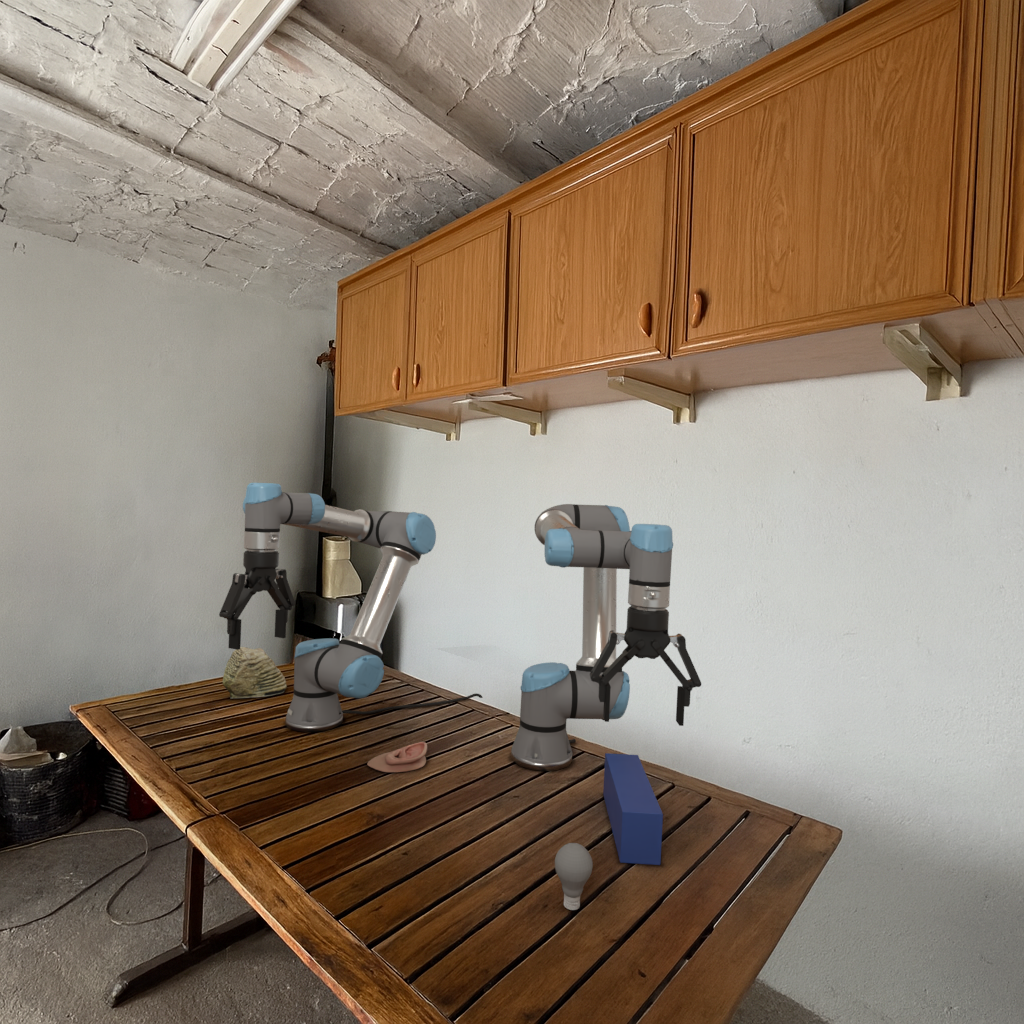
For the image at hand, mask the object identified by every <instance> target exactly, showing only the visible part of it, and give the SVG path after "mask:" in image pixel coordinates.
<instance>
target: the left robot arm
mask: <svg viewBox="0 0 1024 1024" xmlns="http://www.w3.org/2000/svg"><path fill="white" fill-rule="evenodd" d="M242 511H243V513H244V535H243V536H244V538H243V548H244V549H245V551H244V552H243V563H242V564H243V567H244V569H245V571H244V573H237V572H234V573H233V575H232V579H231V580H232V581H231V584H230V587H229V589H228V592H227V594H226V597H225V599H224V602H223V604H222V607H221V608H220V611H219V612H218V613H219V614H218V615H219V617H220V618H223V619H225V620H226V621H227V622H226V633H227V635H228V649H231V650H239V649H240V647H241V641H242V619H239V618H240V617H241V615H242V613H243V611H244V610H245V609H246V606H247V605H248V603H249V602H250V601H251V599H252V598H253V596H254V595H256V594H257V593H260V592H263V591H265V592H267V594H269V596H270V597H271V599H272V600H273V602H274V603H275V606H277V608H278V609H275V614H274V615H275V617H274V638H279V639H286V638H287V637H286V635H287V624H288V618H289V611H291V610H292V609H293V607H295V606H296V602H295V598H294V595H293V592H292V589H291V587H290V583H289V581H288V576H287V575H288V574H287V570H286V568H285V569H284V568H279V564H280V563H279V562H280V552H279V551H277V550H278V549H279V548H280V532H281V525H284V526H289V527H290V526H291V527H294V528H301V529H305V530H310V531H316V532H321V533H327V534H333V535H337V536H343V537H348V539H349V540H350V541H352V542H355V543H360V544H363V545H368V546H370V547H374V548H377V549H379V550H380V552H381V554H382V557H381V560H380V562H379V565H378V567H377V569H376V572H375V574H374V576H373V579H372V581H371V584H370V586H369V588H368V591H367V592H366V595H365V597H364V600H363V603H362V605H361V607H360V610H359V612H358V614H357V617H356V619H355V621H354V624H353V626H352V628H351V630H350V634H348V635H347V636H344V637H342V638H341V640H340V641H339V639H338V638H335V637H334V638H331V637H329V638H315V639H308V640H304V641H301V642H299V643H298V644H297V645H296V646H295V652H294V656H293V658H294V670H293V671H294V672H293V695H292V696H293V697H292V699H291V702H290V704H289V708H288V709H287V713H286V715H285V726H286V728H287V729H289V730H291V731H294V732H295V731H296V732H301V733H316V732H325V731H329V730H332V729H335V728H337V727H339V726H340V725H342V723H343V722H344V714H351V715H352V714H353V715H372V714H373V715H374V714H376V713H381V712H385V711H391V710H398V709H399V710H400V709H411V708H420V707H429V706H430V707H431V706H437V705H444V704H450V703H455V702H461V701H465V700H470V699H472V698H474V697H478V698H480V699H483V695H482V694H480V693H472V694H470V695H467V696H462V697H457V698H452V699H447V700H441V701H433V702H425V703H423V702H422V703H414V704H403V705H393V706H387V707H382V708H378V709H374V710H366V711H365V710H363V711H361V710H349V709H348V710H347V709H346V710H345V709H342V706H341V702H340V699H339V695H340V696H343V697H346V698H349V699H350V698H352V699H365V698H367V697H368V696H369V695H372V694H373V693H374V692H375V691H377V690H378V688H379V686H380V685H381V683H382V681H383V679H384V674H385V669H384V667H385V665H384V662H383V660H382V656H383V650H382V648H381V643H382V641H383V638H384V636H385V633H386V631H387V628H388V625H389V623H390V621H391V619H392V616H393V614H394V611H395V608H396V605H397V603H398V600H399V598H400V596H401V593H402V591H403V588H404V586H405V583H406V581H407V579H408V576H409V573H410V570H411V569H412V567H414V566H417V565H418V564H419V562H420V560H421V557H422V555H427V554H429V553H430V552H432V551H433V549H434V547H435V544H436V541H437V540H436V539H437V532H436V531H437V530H436V527H435V524H434V522H433V520H432V519H431V517H430V516H428V515H427V514H425V513H419V512H416V511H412V512H411V511H410V512H408V511H407V512H406V511H392V510H365V509H360V508H359V509H355V510H349V509H346V508H341V507H337V506H332V505H328V504H326V503H325V501H324V499H323V497H322V496H321V495H320V494H318V493H311V492H287V491H285V492H284V491H283V490H282V485H281V484H280V483H270V482H250V483H248V484H247V486H246V489H245V497H244V499H243V501H242ZM338 694H339V695H338Z"/></svg>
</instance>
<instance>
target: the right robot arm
mask: <svg viewBox="0 0 1024 1024" xmlns="http://www.w3.org/2000/svg"><path fill="white" fill-rule="evenodd" d="M534 534H535V536H536V538H537V540H538V541H539V543H540V544H541V545H543V546H544V562H545V563H546V564H547V565H548V566H551V567H559V568H583V573H582V574H583V577H582V578H583V581H582V582H583V584H582V639H581V640H582V644H581V649H582V650H581V657H580V659H578V660H577V661H576V662H575V670H570V668H569V666H568V664H566V663H563V662H551V661H549V662H541V663H536V664H532V665H531V666H529V667H527V668H525V669H524V671H523V673H522V675H521V676H522V677H521V685H520V690H521V695H520V712H519V727H518V730H517V733H516V735H515V738H514V741H513V744H512V746H511V751H510V759H511V761H512V762H513V763H515V764H516V765H518V766H520V767H522V768H525V769H528V770H532V771H540V772H553V771H558V770H559V771H560V770H562V769H565V768H567V767H569V766H570V765H571V764H572V763H573V762H572V761H573V751H572V746H571V744H575V743H576V741H577V740H576V738H572V739H569V736H568V732H567V720H602V721H604V722H605V723H607V722H608V723H610V720H618V719H621V718H622V717H623V716H624V715H625V713H626V711H627V708H628V705H629V701H630V693H631V692H630V691H631V683H630V676H629V673H628V672H626V671H624V670H623V668H624V666H625V665H626V664H628V662H630V661H631V660H632V659H633V658H634V657H636V658H638V659H647V658H648V659H650V660H655V659H657V658H659V657H660V658H661V659H662V661H663V662H664V664H665V665H666V666H667V667H668V668H669V669H670V671H671V672H672V674H673V675H674V676H675V677H676V679H677V680H678V682H679V683H680V684H681V685H677V690H676V692H677V693H676V713H675V721H676V723H677V725H678V726H679V727H684V723H685V722H684V721H685V707H688V708H689V707H690V704H691V692H692V691H693V689H694V688H700V687H701V686H702V681H701V678H700V677H699V674H698V672H697V670H696V668H695V665H694V663H693V661H692V659H691V656H690V654H689V652H688V649H687V644H686V643H687V642H686V637H685V636H684V635H683V634H681V633H677V634H676V635H669V620H670V619H669V618H670V611H669V610H668V609H667V608H669V607H670V600H671V599H670V598H671V597H670V596H671V594H670V593H671V578H672V577H671V576H672V558H673V548H674V543H673V541H674V540H673V529H672V527H671V526H670V525H667V524H657V523H634V524H633V525H632V526H631V528H630V523H629V518H628V515H627V514H626V510H624V509H623V508H622V507H621V506H620V507H619V506H614V505H607V504H605V505H602V504H574V503H565V504H558V505H554V506H551V507H548V508H546V509H545V510H543V511H542V512H541V513H540V514H539V515H538V516H537V518H536V520H535V522H534ZM618 570H629V575H628V592H627V593H628V594H627V603H628V605H629V606H628V608H627V612H626V630H625V632H624V633H623V632H617V609H618V608H617V603H618V602H617V600H618V599H617V597H618V596H617V591H618V590H617V589H618V588H617V587H618V585H617V582H618V576H617V574H618ZM621 641H624V642H625V644H626V645H627V646H626V647H625V648H624V649H623V651H622V652H621V653H620V655H619V656H618V657H617V645H620V644H621ZM671 643H672V646H674V648H676V649H677V652H678V653H679V656H680V658H681V660H682V663H683V665H684V667H685V669H686V671H687V674H688V676H689V678H690V679H689V678H688V679H687V678H686V677H685V675H684V674H683V673H682V672H681V670H680V669H679V668H678V666H677V665H676V664H675V663H674V661H673V660H672V658H671V657H670V656H669V654H668V653H667V652H666V651H665V650H666V649H667V647H668V646H669V644H671Z"/></svg>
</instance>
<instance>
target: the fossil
mask: <svg viewBox="0 0 1024 1024" xmlns="http://www.w3.org/2000/svg"><path fill="white" fill-rule="evenodd" d="M222 676H223V677H222V685H223V687H224V688H225V690H226V691H228V693H229V698H230V699H250V698H264V697H271V696H275V695H281V694H284V693H285V691H286V689H287V687H288V686H287V680H286V678H285V676H284V674H283V673H282V672H281V669H279V668H278V667H277V665H276V663H275V662H274V660H273V659H272V658H271V657H270V656H269V655H268V654H267V653H266V652H265V650H264V649H263V648H260V647H258V648H251V647H247V646H246V647H245V646H240V649H239V650H236V649H234V650H233V651H232V653H231V656H230V657H229V659H228V660H227V663H226V666H225V668H224V671H223V675H222Z"/></svg>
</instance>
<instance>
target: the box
mask: <svg viewBox="0 0 1024 1024" xmlns="http://www.w3.org/2000/svg"><path fill="white" fill-rule="evenodd" d="M603 769H604V771H603V773H604V774H603V791H602V792H603V793H602V795H603V800H604V803H605V807H606V812H607V815H608V819H609V823H610V828H611V831H612V835H613V839H614V844H615V848H616V852H617V855H618V859H619V863H620V864H621V863H622V864H635V865H636V864H639V865H652V866H653V865H654V866H661V863H662V843H663V842H662V841H663V822H664V821H663V820H664V814H663V811H662V809H661V807H660V804H659V802H658V800H657V797H656V794H655V792H654V790H653V787H652V785H651V782H650V780H649V777H648V775H647V773H646V771H645V769H644V766H643V764H642V761H641V759H640V757H639V754H628V753H612V752H611V753H610V752H609V753H607V752H605V753H604V767H603Z"/></svg>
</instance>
